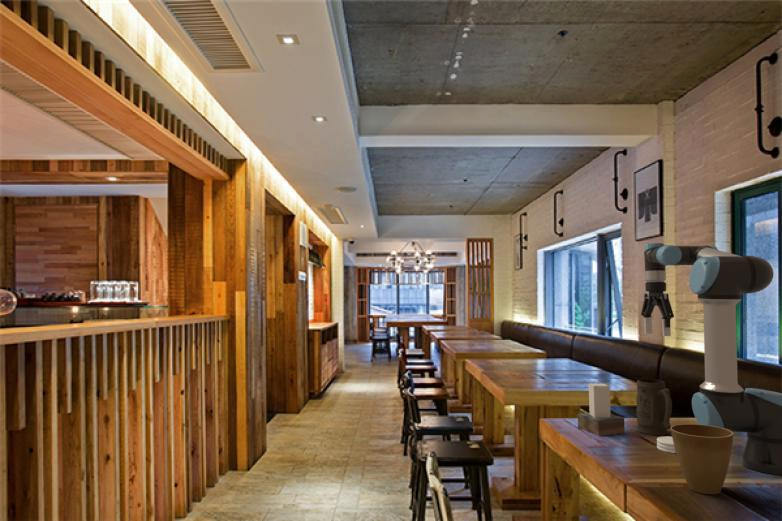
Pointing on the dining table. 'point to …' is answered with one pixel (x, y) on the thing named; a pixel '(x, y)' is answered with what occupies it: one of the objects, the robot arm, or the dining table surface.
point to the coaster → (666, 444)
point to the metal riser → (601, 424)
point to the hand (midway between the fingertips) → (657, 334)
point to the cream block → (599, 400)
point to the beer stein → (653, 407)
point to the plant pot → (703, 455)
